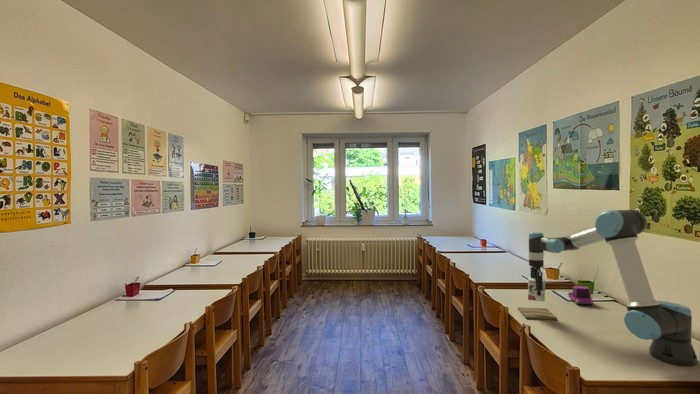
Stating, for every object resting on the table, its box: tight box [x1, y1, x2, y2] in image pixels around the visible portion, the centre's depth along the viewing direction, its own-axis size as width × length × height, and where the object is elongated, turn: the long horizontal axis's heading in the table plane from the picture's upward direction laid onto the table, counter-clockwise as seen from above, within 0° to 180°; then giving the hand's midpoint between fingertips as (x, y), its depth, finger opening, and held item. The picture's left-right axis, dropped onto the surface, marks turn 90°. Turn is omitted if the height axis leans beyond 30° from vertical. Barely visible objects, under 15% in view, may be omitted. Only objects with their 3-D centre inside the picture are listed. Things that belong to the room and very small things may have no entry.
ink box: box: [527, 277, 546, 303], centre depth 204 cm, size 9×5×12 cm, turn 62°
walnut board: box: [517, 306, 558, 321], centre depth 204 cm, size 16×16×1 cm
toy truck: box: [567, 285, 594, 306], centre depth 224 cm, size 11×16×10 cm
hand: (536, 299), depth 204 cm, fingers closed on ink box, 6 cm apart
